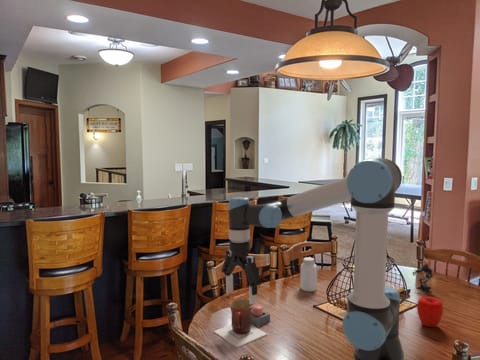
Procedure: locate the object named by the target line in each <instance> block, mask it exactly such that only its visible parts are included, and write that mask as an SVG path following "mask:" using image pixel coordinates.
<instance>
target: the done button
mask: <svg viewBox="0 0 480 360" xmlns="http://www.w3.org/2000/svg"><path fill="white" fill-rule="evenodd" d="M251 311H252V315H253V316H255V317H260V316H263V311H264V306H262V305H260V304H255V305H254V304H253V307H252V310H251Z"/></svg>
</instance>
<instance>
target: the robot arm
mask: <svg viewBox="0 0 480 360" xmlns="http://www.w3.org/2000/svg"><path fill="white" fill-rule="evenodd" d="M402 180H403V174H402V171H401V169H400V167H399V166H398V164H397V163H396V162H395V161H393V160H391V159H389V158H384V157H383V158H381V157H380V158H379V157H378V158H367V159H363V160H361V161H359V162H358V163H355V164H354V166H352V167H351V169H350V170H349V172H348V175H347V176H346V177H342V178H340V179H337V180H335V181H332V182H329V183H325V184H323V185H320V186H317V187H314V188H311V189H309V190H306V191H302V192H299V193H297V194H293V195H291V196H289V197H284V198H282V199H279V200H275V201H274V202H268V203H263V204H258V203H257V204H256V203H255V204H253V203H251V202H250V199H249V197H244V196H243V197H242V196H238V197H236V196H235V197H230V198H229V200H228V209H227V211H228V223H229V224H228V225H229V226H228V240H229V242H228V243H229V249H227V250H226V251H225V258H224V260H223V261H224V262H223V264H222V267H221V273H224V275H225V289H226V290H225V293H226V294H229V293H232V292H234V275H233V271H234V270H235V268H236V267H237V266H238V267H239V268H241V269H242V270H243V271H244V274H245V275H246V278H247V280H248V282H249V285H248V294H249V295H248V298H249V299H248V300H249V304H253V305H254V304H256V303H257V301H258V299H257V295H258V286H260V285H262V284H263V283H262V279H261V276H260V274H259V271H258V270H259V269H258V267H257V264H256V257H255V256H254V255H252V256H250V255H249V252H250V251H251V241H250V239H251V227H250V226H252V227H253V226H254V227H262V228H266V229H268V228H269V229H270V228H273V229H274V228H277V227H279V225H280V224H281V222H283V221H287V220H290V219H293V218H296V217H299V216H302V215H305V214H309V213H312V212H316V211H318V210H322V209H324V208H328V207H332V206H335V205H338V204H341V203H344V202H348V201H350V206H351V207H352V208H353V209H354V211H355V212H356V213H355V238H354V239H355V240H354V263H353V264H354V266H353V267H354V270H353V271H354V273H353V291H351V292H350V293H349V294H348V296H347V313H346V314H345V316H344V317H343V320H342V324H341V326H342V331H343V334H344V336H345V337H346V339H347V340H348V341H349V342H350V343H351V344H352V345H353V347H354V348H353V349H354V350H353V351H354V352H353V353H354V355H355V357H356V358H357V359H358V360H405V354H404V350H403V346H402V343H401V340H400V336H399V332H400V331H399V329H400V328H399V327H400V326H399V324H400V305H401V304H400V302H401V299H400V293H399V291H398V290H397V289H395V288H393V287H391V286H387V285H386V274H387V253H388V251H387V250H388V249H387V248H388V225H389V223H388V222H389V214H390V213H391V212H392V211H393V210H394V209H395V201H396V200H395V199H396V192H397V191H398V189H399V188H400V186H401V184H402Z"/></svg>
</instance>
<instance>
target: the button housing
mask: <svg viewBox="0 0 480 360" xmlns="http://www.w3.org/2000/svg"><path fill="white" fill-rule="evenodd" d="M270 322H271V314H270V313H268V312H266V311H265V310H263V316H260V317H255V316H253V315H252V310H251V324H252V325H253V326H254V327H256V328H258V327H260V326H263V325H265V324H268V323H270Z"/></svg>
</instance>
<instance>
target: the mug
mask: <svg viewBox="0 0 480 360" xmlns="http://www.w3.org/2000/svg"><path fill="white" fill-rule="evenodd" d="M253 306H254V304H249V299H247V298H237V299H234V300H232V301H230V302H229V308H230V312H231V324H230V325H232V330H233V331H234V332H235V333H237V334H246V333H248V332H249V331H250V330H251V325H252V324H251V311H252V307H253Z"/></svg>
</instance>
